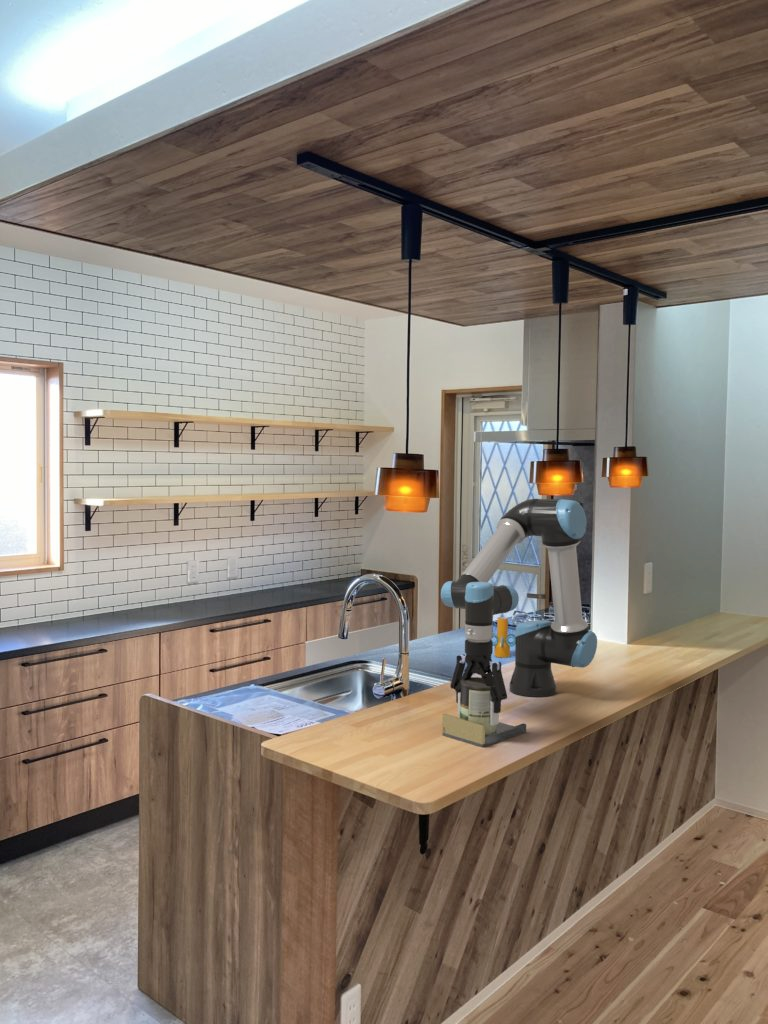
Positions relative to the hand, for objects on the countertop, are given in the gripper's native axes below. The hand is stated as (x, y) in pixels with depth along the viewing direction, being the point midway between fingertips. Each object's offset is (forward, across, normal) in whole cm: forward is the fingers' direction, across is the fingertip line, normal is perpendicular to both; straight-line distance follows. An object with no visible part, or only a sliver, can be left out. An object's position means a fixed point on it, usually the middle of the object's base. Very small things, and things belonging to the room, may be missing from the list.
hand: (477, 719), depth 233 cm
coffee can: (+4, 0, 0) cm, 4 cm away
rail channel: (+5, 0, +3) cm, 5 cm away
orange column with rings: (+5, -59, +86) cm, 104 cm away
